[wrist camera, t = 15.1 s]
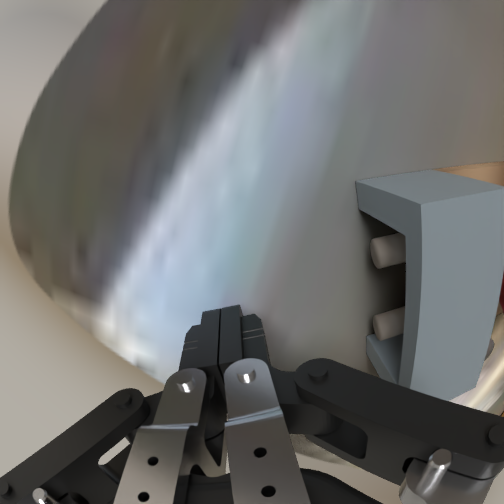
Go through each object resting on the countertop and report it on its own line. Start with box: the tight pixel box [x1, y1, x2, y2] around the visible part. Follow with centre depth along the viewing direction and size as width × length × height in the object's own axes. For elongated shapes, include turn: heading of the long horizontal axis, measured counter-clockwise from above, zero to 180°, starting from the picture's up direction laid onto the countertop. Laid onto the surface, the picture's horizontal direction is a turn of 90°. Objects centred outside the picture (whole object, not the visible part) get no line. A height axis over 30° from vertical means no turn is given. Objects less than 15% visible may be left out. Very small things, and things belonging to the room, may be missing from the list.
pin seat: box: [370, 161, 504, 361], centre depth 11 cm, size 13×9×4 cm
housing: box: [355, 170, 504, 401], centre depth 11 cm, size 4×9×5 cm, turn 12°
